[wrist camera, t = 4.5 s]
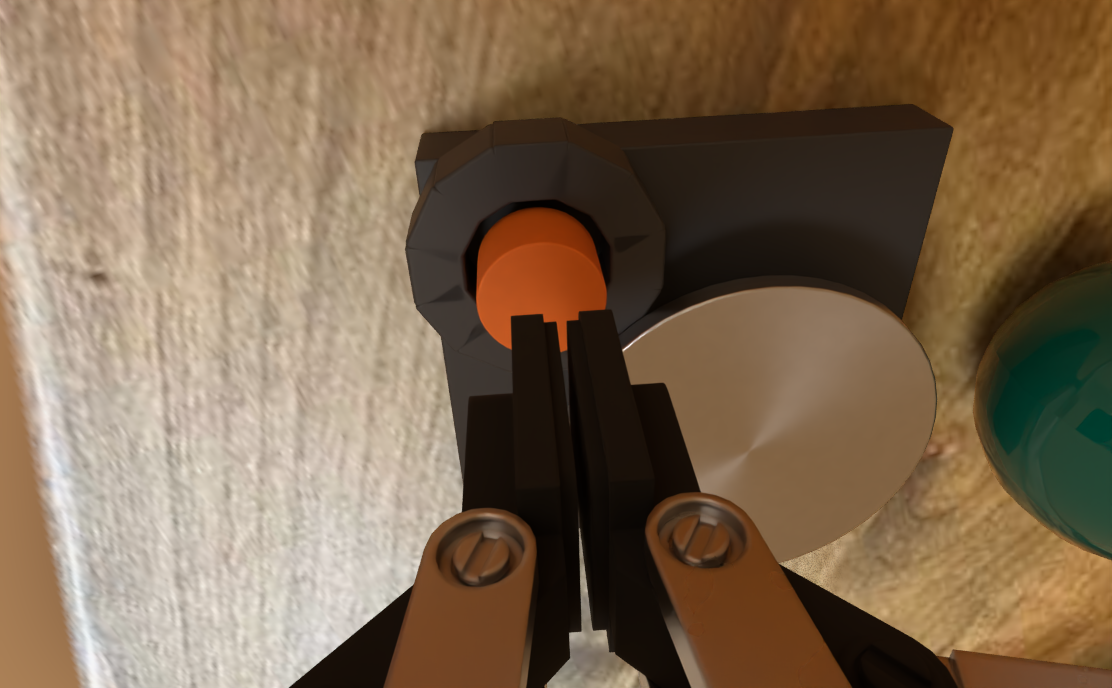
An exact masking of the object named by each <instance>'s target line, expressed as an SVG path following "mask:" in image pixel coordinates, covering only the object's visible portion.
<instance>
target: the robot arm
mask: <svg viewBox="0 0 1112 688" xmlns="http://www.w3.org/2000/svg"><path fill="white" fill-rule="evenodd" d="M566 326H567V356H568V385H569V414H570V423H569V415H568V407H567V400H566V392H565V384H564V376H563V368H562V360H561V353H560V345H559V337H558V329H557V322H556V321H554V322H544V318H543V314H530V315H515V316H511V347H512V384H513V393H507V394H493V395H478V396H469V400H468V414H467V432H466V450H465V467H464V485H463V503H462V513H459V514H456V515H454V516H453V517H451V518H450V519H448V520H446V521H445V522H443V523H442V524H441V525H440V526H439V527H438V528H437V529H436V530H435V531H434V532H433V533H432V534H431V536H430V538H429V540H428V542H427V544H426V546H425V549H424V552H423V555H422V559H421V562H420V566H419V569H418V572H417V576H416V579H415V583H414V585H413V586H411V587H410V588H409V589H408V590H407V591H405V592H404V593H403V594H402V595H401V596H399V597H398V598H397V599H396V600H394V601H393V602H392V603H391V604H390V605H388V606H387V607H386V608H385V609H384V610H382V611H381V612H380V613H379V614H378V615H376V616H375V617H374V618H373V619H371V620H370V621H369V622H368V623H367V624H365V625H364V626H363V627H362V628H361V629H359V630H358V631H357V632H356V633H354V634H353V635H352V636H351V637H350V638H348V639H347V640H346V641H345V642H344V643H342V644H341V645H340V646H339V647H338V648H336V649H335V650H334V651H333V652H331V653H330V654H329V655H328V656H327V657H325V658H324V659H323V660H322V661H321V662H319V663H318V664H317V665H316V666H314V667H313V668H312V669H311V670H310V671H308V672H307V673H306V674H305V675H304V676H302V677H301V678H300V679H299V680H298V681H296V682H295V683H294V684H293V685H291V686H290V687H289V688H547V683H548V681H549V680H550V679H551V678H552V677H553V676H554V675H555V674H556V673H557V672H558V671H559V669H560V668H561V667H562V666H563V665H564V664H565V663H566V662H567V661H568V660H569V659H570V646H569V633H570V632H581V594H580V559H579V525H578V516H579V524H580V532H581V540H582V548H583V556H584V564H585V572H586V580H587V589H588V597H589V605H590V613H591V621H592V628H593V631H595V630H606V631H607V638H608V645H609V652H615V654H616V655H617V656H619V657H620V658H621V659H623V660H624V661H625V662H627V663H628V664H630V665H631V666H632V667H634V668H635V669H636V670H638V671H639V673H638V675H639V681H640V687H641V688H1112V670H1109V669H1102V668H1094V667H1086V666H1078V665H1070V664H1063V663H1055V662H1047V661H1039V660H1031V659H1024V658H1016V657H1008V656H1000V655H992V654H985V653H977V652H969V651H961V650H952V653H951V655H950V657H941V656H936V655H935V654H934V653H933V652H932V651H931V650H929V649H928V648H926V647H925V646H923V645H922V644H921V643H919V642H918V641H916V640H915V639H913V638H912V637H910V636H908V635H906V634H904V633H903V632H901V631H899V630H897V629H895V628H894V627H892V626H890V625H888V624H886V623H885V622H883V621H881V620H879V619H877V618H876V617H874V616H872V615H870V614H868V613H867V612H865V611H863V610H861V609H859V608H857V607H856V606H854V605H852V604H850V603H848V602H847V601H845V600H843V599H841V598H839V597H838V596H836V595H834V594H832V593H830V592H829V591H827V590H825V589H823V588H821V587H820V586H818V585H816V584H814V583H812V582H811V581H809V580H807V579H805V578H803V577H802V576H800V575H798V574H796V573H794V572H793V571H791V570H789V569H787V568H785V567H784V566H782V565H780V564H778V562H777V560H776V559H775V557H774V555H773V554H772V552H771V550H770V549H769V547H768V545H767V544H766V542H765V540H764V539H763V537H762V535H761V534H760V532H759V530H758V528H757V527H756V525H755V523H754V522H753V521H752V519H751V518H750V517H749V516H748V515H747V513H746V512H745V511H744V510H743V509H741V508H740V507H739V506H737V505H736V504H734V503H733V502H731V501H730V500H727V499H724V498H722V497H719V496H717V495H714V494H707V493H701V491H700V487H699V484H698V481H697V478H696V475H695V472H694V469H693V466H692V463H691V460H690V457H689V453H688V450H687V447H686V444H685V441H684V438H683V435H682V432H681V429H680V426H679V423H678V419H677V416H676V413H675V410H674V407H673V404H672V401H671V398H670V395H669V392H668V389H667V387H666V384H664V383H649V384H635V385H631V383H630V379H629V375H628V371H627V367H626V363H625V359H624V355H623V351H622V347H621V343H620V339H619V336H618V332H617V328H616V324H615V320H614V316H613V312H612V310H611V309H605V310H590V311H579V313H578V320H569V321H567V324H566Z"/></svg>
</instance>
